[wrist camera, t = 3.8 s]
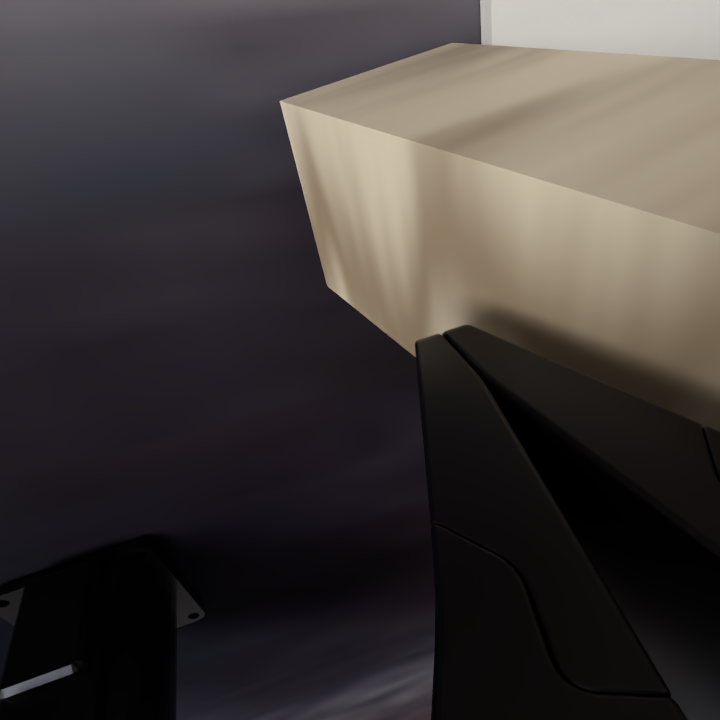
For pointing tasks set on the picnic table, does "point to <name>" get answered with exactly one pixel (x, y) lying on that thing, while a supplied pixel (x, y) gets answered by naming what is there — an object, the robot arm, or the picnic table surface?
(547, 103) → the birch block
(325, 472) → the picnic table surface
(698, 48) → the white board
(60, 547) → the picnic table surface
